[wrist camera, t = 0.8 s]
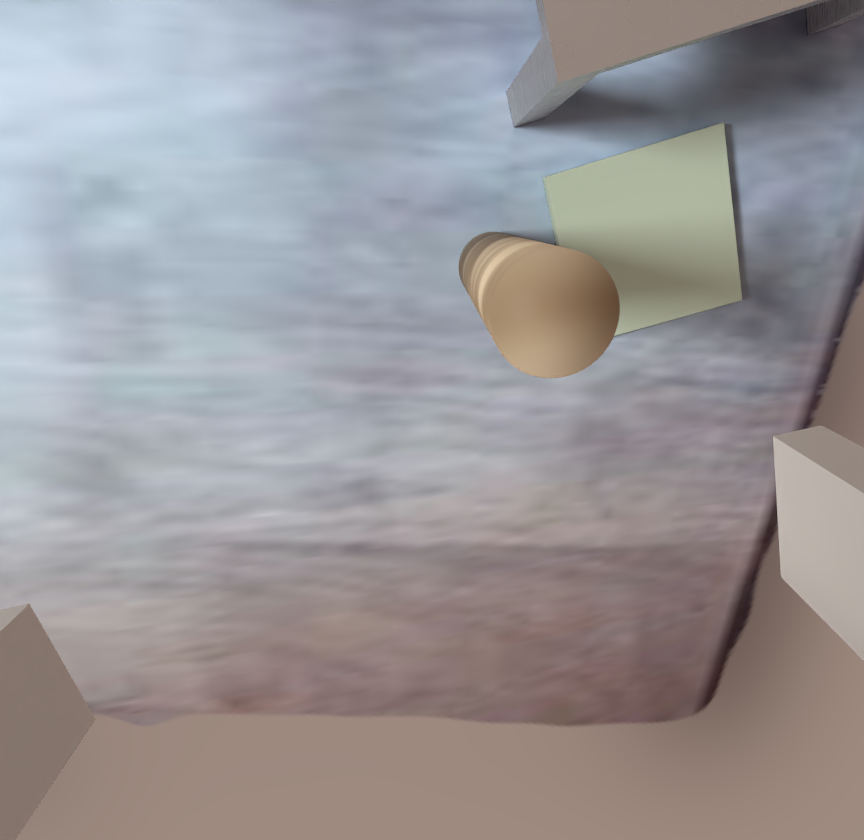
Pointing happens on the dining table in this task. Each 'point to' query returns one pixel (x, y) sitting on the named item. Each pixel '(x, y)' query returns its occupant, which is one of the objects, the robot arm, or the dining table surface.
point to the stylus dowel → (541, 302)
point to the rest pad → (655, 225)
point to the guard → (636, 38)
